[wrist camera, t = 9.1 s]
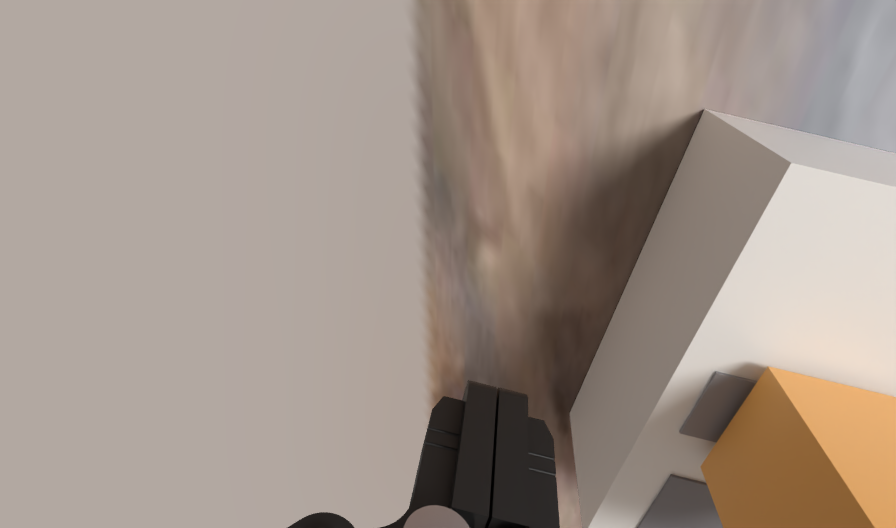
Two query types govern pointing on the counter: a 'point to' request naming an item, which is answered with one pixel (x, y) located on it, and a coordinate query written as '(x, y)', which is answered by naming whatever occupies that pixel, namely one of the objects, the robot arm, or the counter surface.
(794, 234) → the switch box
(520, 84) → the counter surface
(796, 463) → the block
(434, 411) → the robot arm
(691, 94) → the counter surface
